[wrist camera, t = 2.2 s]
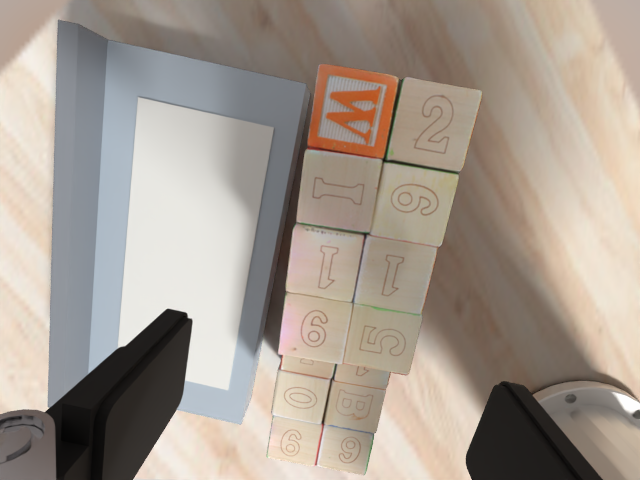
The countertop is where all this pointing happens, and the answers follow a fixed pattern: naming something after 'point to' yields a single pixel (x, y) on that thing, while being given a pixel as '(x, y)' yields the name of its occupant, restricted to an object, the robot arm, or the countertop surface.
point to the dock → (167, 210)
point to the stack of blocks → (362, 255)
